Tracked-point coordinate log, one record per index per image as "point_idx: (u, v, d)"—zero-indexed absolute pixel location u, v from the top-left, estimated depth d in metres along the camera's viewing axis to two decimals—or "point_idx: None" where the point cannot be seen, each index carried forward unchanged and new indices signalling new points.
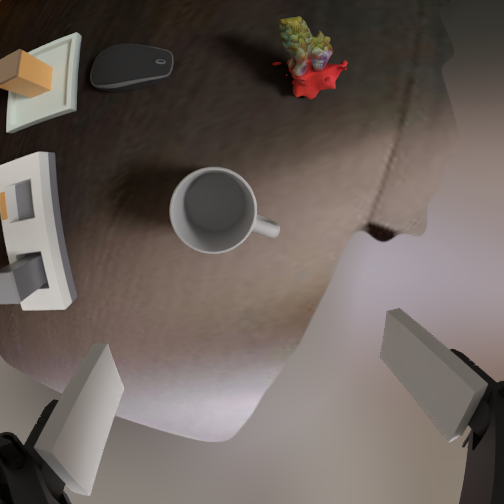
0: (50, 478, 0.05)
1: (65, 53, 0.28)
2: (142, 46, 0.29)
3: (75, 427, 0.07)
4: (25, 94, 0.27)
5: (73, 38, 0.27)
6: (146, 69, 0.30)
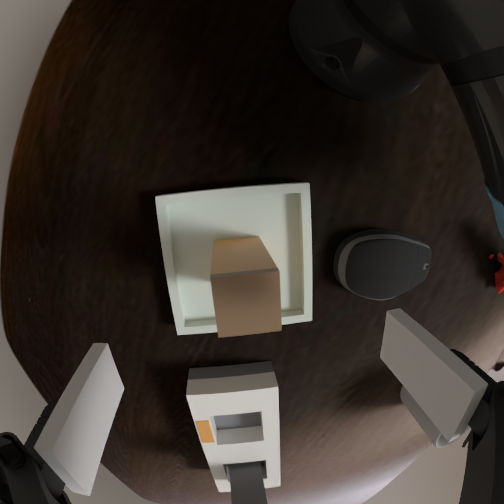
0: (50, 478, 0.05)
1: (281, 214, 0.26)
2: (415, 246, 0.26)
3: (74, 427, 0.07)
4: None
5: (304, 195, 0.24)
6: (415, 280, 0.27)
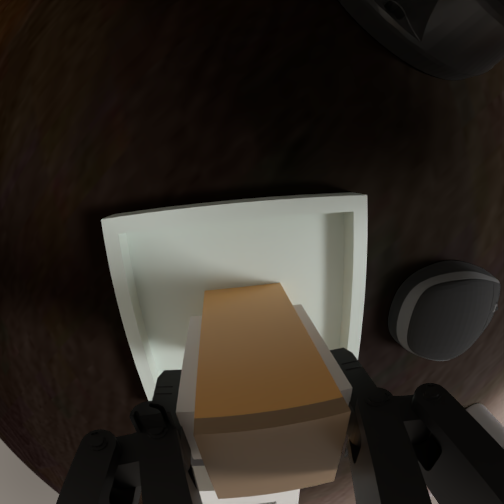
0: (185, 444, 0.08)
1: (318, 245, 0.15)
2: (492, 285, 0.16)
3: None
4: None
5: (358, 215, 0.14)
6: (484, 327, 0.17)
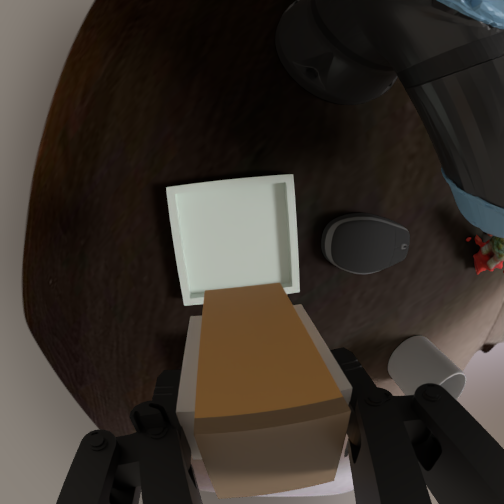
0: (185, 444, 0.08)
1: (271, 200, 0.31)
2: (393, 227, 0.31)
3: None
4: None
5: (289, 184, 0.29)
6: (394, 257, 0.32)
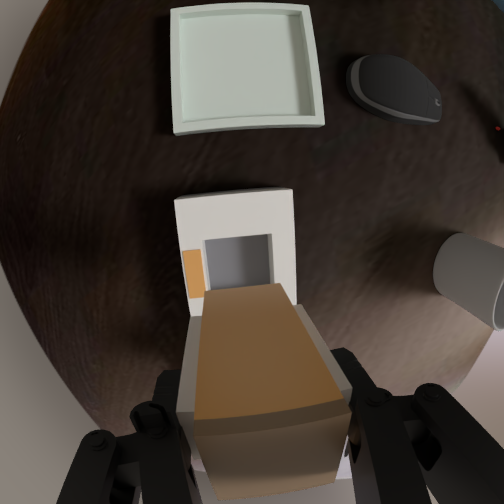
0: (185, 444, 0.08)
1: (285, 29, 0.22)
2: (422, 74, 0.22)
3: None
4: None
5: (304, 12, 0.20)
6: (430, 108, 0.23)
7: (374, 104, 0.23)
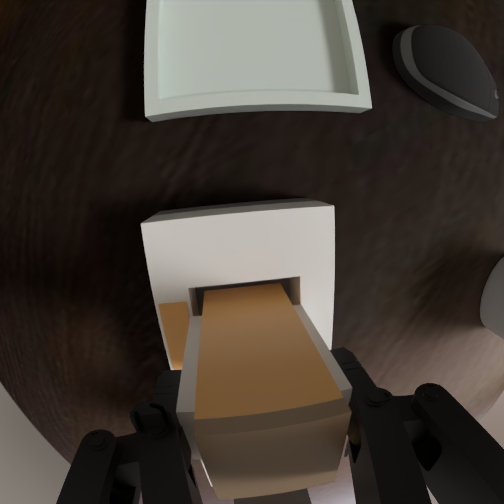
0: (185, 444, 0.08)
1: None
2: None
3: None
4: None
5: None
6: (491, 100, 0.15)
7: (433, 87, 0.15)
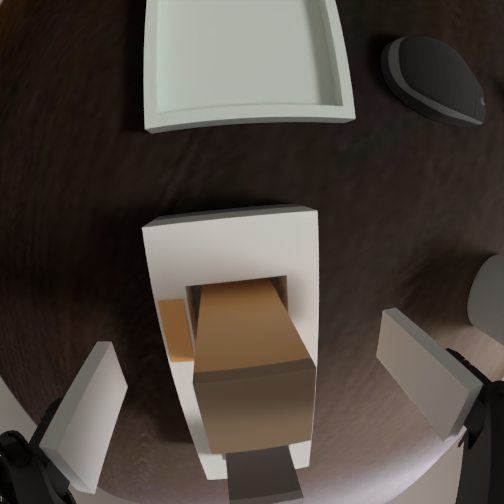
0: (55, 476, 0.05)
1: None
2: (467, 66, 0.15)
3: (79, 425, 0.07)
4: None
5: None
6: (477, 106, 0.16)
7: (419, 96, 0.16)
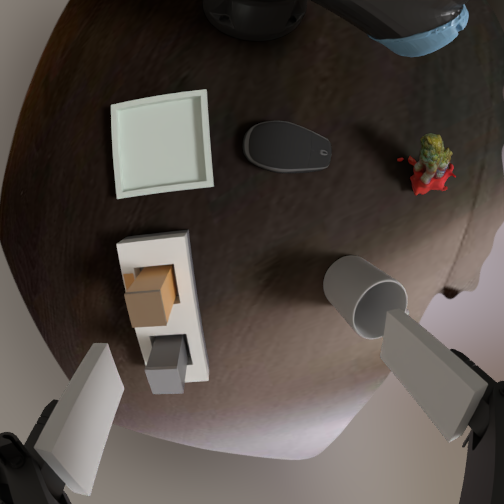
0: (50, 478, 0.05)
1: (190, 112, 0.35)
2: (308, 131, 0.35)
3: (74, 427, 0.07)
4: None
5: (202, 96, 0.33)
6: (312, 159, 0.36)
7: (259, 164, 0.36)
